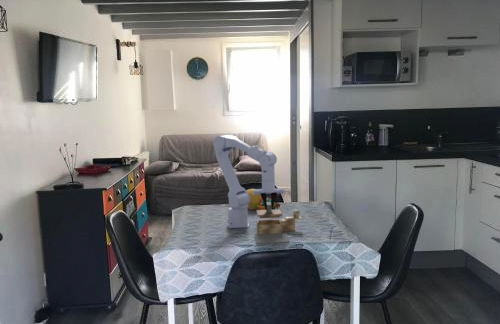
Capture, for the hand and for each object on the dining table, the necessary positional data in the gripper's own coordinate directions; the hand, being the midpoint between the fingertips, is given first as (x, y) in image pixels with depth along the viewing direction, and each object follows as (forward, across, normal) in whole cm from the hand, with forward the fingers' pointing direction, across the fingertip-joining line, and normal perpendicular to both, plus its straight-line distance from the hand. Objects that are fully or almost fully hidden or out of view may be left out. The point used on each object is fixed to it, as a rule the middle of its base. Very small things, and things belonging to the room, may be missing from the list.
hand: (268, 209), depth 201 cm
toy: (+10, -3, +43) cm, 44 cm away
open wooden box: (+10, +3, 0) cm, 10 cm away
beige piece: (+5, +11, 0) cm, 12 cm away
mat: (+10, 0, -12) cm, 16 cm away
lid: (+2, 0, 0) cm, 2 cm away
